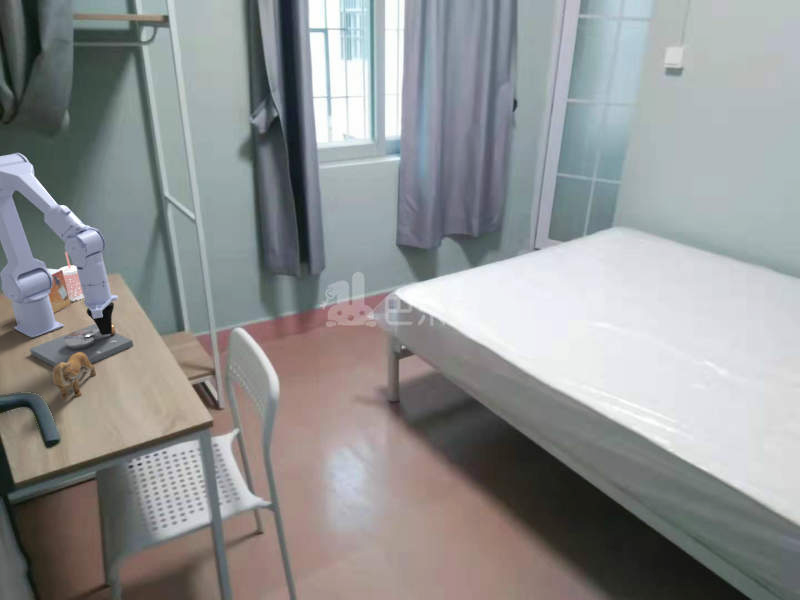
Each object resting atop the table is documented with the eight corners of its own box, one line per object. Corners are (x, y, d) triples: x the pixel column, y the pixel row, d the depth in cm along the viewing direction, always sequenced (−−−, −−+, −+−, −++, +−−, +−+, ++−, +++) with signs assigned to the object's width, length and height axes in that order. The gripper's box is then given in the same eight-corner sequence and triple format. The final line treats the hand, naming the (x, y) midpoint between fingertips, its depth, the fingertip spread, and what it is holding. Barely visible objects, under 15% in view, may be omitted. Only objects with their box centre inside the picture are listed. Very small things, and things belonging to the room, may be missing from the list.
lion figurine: (83, 405, 115) (73, 366, 112) (54, 408, 114) (43, 370, 110) (99, 369, 128) (90, 333, 125) (73, 372, 127) (63, 336, 124)
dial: (71, 352, 131) (69, 344, 131) (62, 343, 136) (60, 335, 135) (120, 336, 139) (118, 328, 138) (110, 328, 143) (108, 320, 142)
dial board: (31, 354, 134) (29, 348, 134) (96, 329, 146) (95, 323, 146) (67, 374, 126) (65, 368, 125) (133, 345, 138) (132, 339, 138)
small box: (50, 316, 154) (40, 279, 149) (32, 314, 155) (22, 278, 150) (71, 304, 161) (62, 269, 156) (54, 302, 162) (45, 267, 157)
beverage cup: (76, 292, 168) (65, 247, 162) (93, 294, 167) (83, 249, 161) (60, 300, 163) (48, 254, 157) (77, 303, 161) (66, 256, 156)
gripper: (111, 289, 128) (123, 343, 133) (114, 269, 140) (126, 319, 145) (76, 294, 125) (90, 349, 131) (82, 273, 138) (95, 323, 143)
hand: (106, 333), depth 138 cm, fingers closed, pressing on dial
